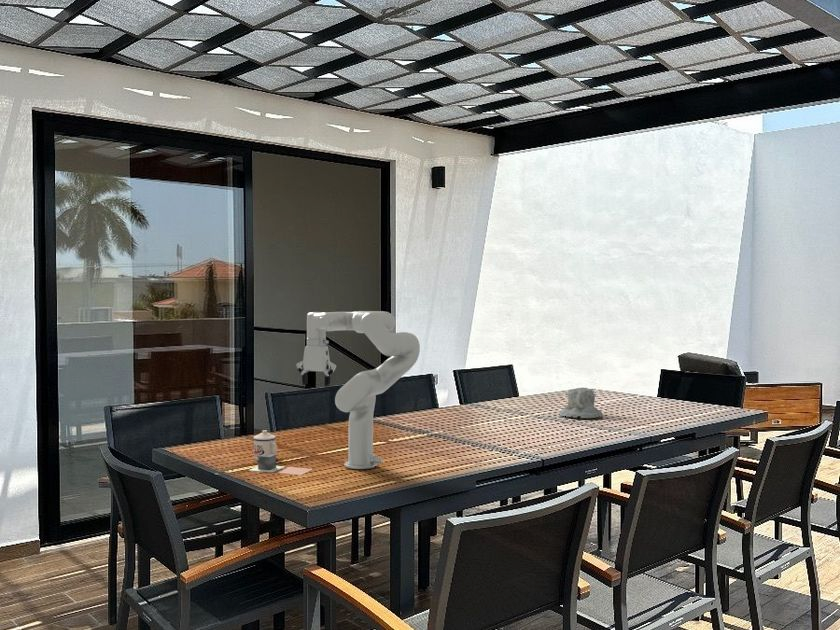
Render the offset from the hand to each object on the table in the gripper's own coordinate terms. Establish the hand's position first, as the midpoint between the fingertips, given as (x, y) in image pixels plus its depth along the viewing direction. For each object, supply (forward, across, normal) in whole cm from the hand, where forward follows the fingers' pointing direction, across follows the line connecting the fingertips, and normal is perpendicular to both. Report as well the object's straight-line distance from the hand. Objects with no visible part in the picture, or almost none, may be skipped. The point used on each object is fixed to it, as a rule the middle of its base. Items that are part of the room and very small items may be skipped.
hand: (316, 385), depth 321 cm
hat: (+31, -88, -148) cm, 175 cm away
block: (+30, +10, +22) cm, 38 cm away
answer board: (+30, +4, +22) cm, 38 cm away
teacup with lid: (+31, +19, +6) cm, 36 cm away
